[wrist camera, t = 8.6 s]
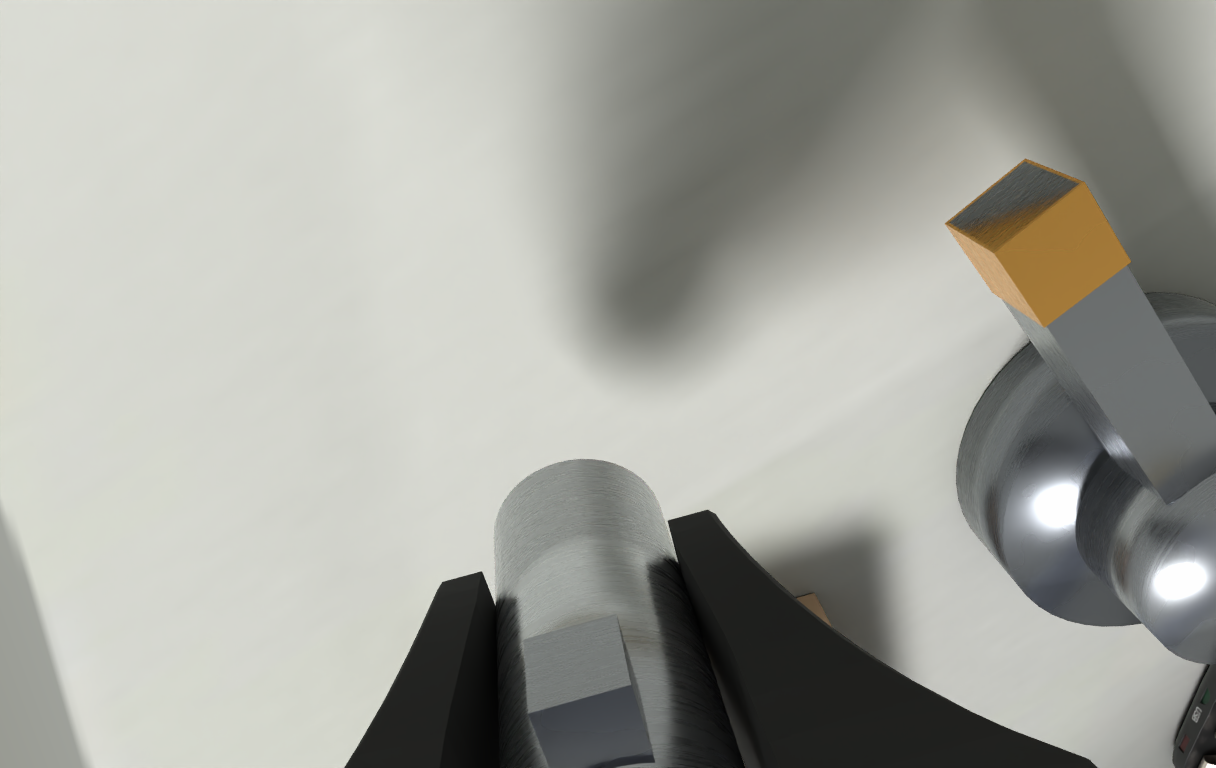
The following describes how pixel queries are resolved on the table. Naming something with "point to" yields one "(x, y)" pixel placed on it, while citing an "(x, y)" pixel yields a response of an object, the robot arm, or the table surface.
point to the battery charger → (1199, 728)
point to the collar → (1111, 396)
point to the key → (599, 631)
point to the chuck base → (1055, 469)
